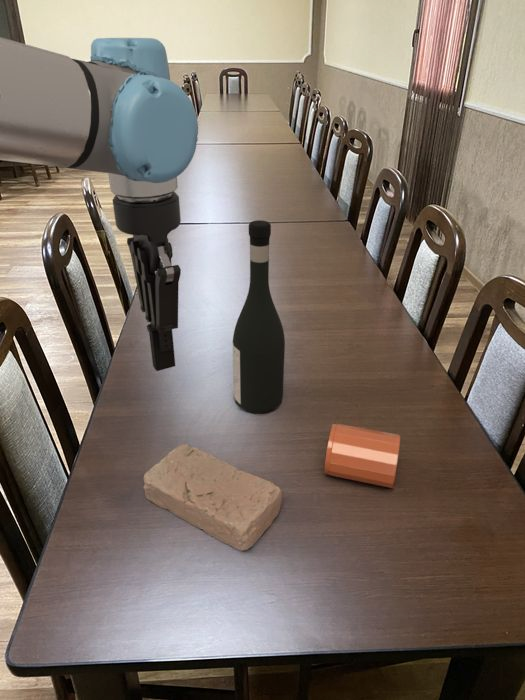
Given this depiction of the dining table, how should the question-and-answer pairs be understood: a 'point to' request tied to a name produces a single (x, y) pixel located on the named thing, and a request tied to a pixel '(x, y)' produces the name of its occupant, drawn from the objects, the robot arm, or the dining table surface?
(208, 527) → the brick
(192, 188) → the dining table surface
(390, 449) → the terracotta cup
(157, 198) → the robot arm
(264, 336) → the wine bottle
